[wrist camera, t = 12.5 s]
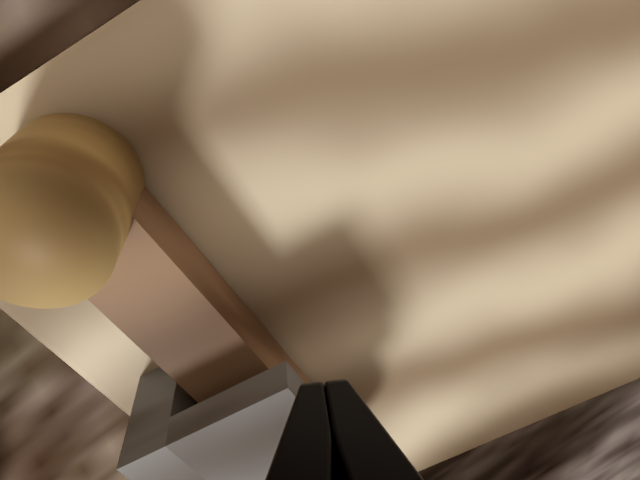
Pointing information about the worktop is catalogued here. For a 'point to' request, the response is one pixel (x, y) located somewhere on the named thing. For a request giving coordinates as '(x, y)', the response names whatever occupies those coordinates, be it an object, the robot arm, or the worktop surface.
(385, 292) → the pin board
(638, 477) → the worktop surface
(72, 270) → the walnut link
